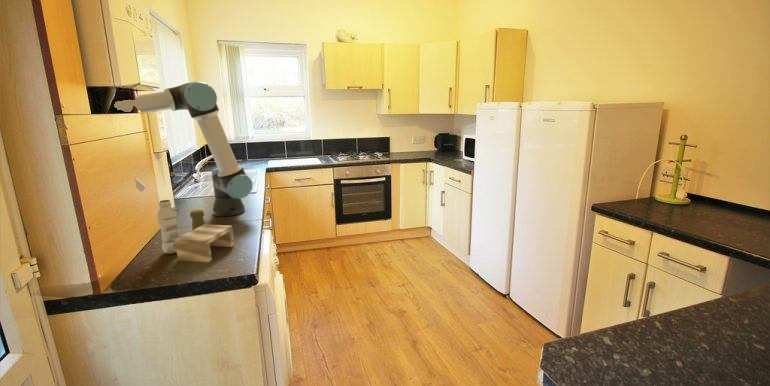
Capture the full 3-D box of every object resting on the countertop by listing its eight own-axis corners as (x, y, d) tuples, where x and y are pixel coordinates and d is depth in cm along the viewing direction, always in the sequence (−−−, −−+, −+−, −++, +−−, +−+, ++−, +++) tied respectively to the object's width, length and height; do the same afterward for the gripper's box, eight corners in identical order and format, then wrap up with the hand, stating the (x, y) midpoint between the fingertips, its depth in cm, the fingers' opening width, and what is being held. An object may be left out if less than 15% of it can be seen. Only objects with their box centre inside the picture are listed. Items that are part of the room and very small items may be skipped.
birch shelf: (207, 243, 143) (204, 224, 141) (234, 244, 141) (232, 225, 139) (178, 260, 128) (174, 239, 126) (208, 262, 126) (205, 241, 124)
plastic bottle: (161, 257, 131) (152, 204, 126) (164, 250, 137) (155, 200, 132) (182, 254, 133) (173, 202, 128) (183, 247, 139) (175, 197, 134)
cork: (201, 238, 149) (197, 212, 146) (188, 237, 150) (185, 212, 148) (211, 233, 155) (207, 208, 152) (198, 232, 156) (195, 208, 153)
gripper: (103, 155, 139) (147, 192, 143) (43, 165, 115) (98, 210, 119) (114, 141, 138) (158, 179, 142) (56, 148, 114) (111, 194, 117)
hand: (131, 193), depth 130 cm, fingers open, 13 cm apart
